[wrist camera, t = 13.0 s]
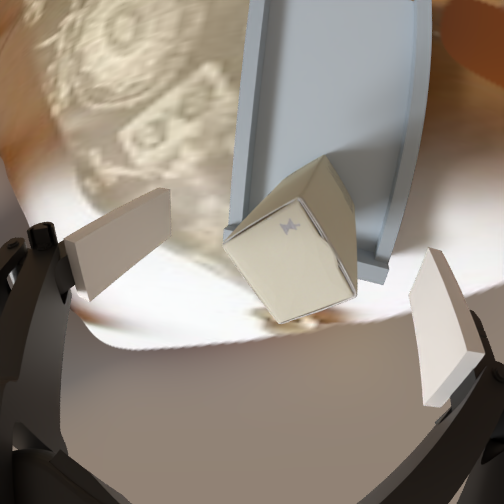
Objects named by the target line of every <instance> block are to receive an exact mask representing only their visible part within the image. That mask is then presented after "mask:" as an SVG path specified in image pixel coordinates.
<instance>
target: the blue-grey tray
mask: <svg viewBox="0 0 504 504" xmlns="http://www.w3.org/2000/svg"><path fill="white" fill-rule="evenodd" d="M431 45H432V2H431V0H414V1H411V0H250V5H249V13H248V21H247V29H246V38H245V46H244V55H243V65H242V74H241V83H240V93H239V103H238V114H237V125H236V136H235V147H234V159H233V171H232V184H231V197H230V210H229V225H228V226H227V227H226V228H224V234H223V242H224V241H225V240H226V239H227V237H228V236H229V235H230V234H231V233H232V232H233V231H234V230H235V229H236V228H237V227H238V225H239V224H240V223H241V222H242V221H243V220H244V219H245V218H246V217H247V216H248V215H249V214H250V213H251V212H252V211H253V210H254V209H255V208H256V207H257V206H258V205H259V204H260V202H261V201H262V200H263V199H264V198H265V197H267V195H268V194H269V193H270V192H271V191H272V190H273V189H274V188H275V187H276V186H277V185H278V184H279V183H280V182H281V181H282V180H283V179H284V178H286V177H287V176H289V175H290V174H292V173H293V172H295V171H296V170H298V169H300V168H301V167H303V166H304V165H306V164H308V163H310V162H311V161H313V160H315V159H317V158H318V157H320V156H322V155H326V156H327V158H328V159H329V161H330V163H331V164H332V166H333V167H334V169H335V170H336V172H337V174H338V175H339V177H340V179H341V180H342V182H343V184H344V186H345V187H346V189H347V191H348V193H349V195H350V197H351V199H352V201H353V203H354V206H355V222H356V240H357V279H361V280H365V281H369V282H373V283H377V284H381V285H384V282H385V279H386V277H387V274H388V271H389V266H388V262H389V259H390V256H391V253H392V250H393V247H394V244H395V241H396V238H397V235H398V232H399V228H400V225H401V221H402V218H403V215H404V211H405V207H406V204H407V200H408V196H409V192H410V188H411V184H412V180H413V176H414V171H415V167H416V162H417V157H418V152H419V147H420V142H421V136H422V130H423V124H424V118H425V111H426V104H427V96H428V87H429V76H430V64H431Z"/></svg>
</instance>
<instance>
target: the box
mask: <svg viewBox="0 0 504 504" xmlns="http://www.w3.org/2000/svg"><path fill="white" fill-rule="evenodd" d="M223 248H224V250H225V251H226V253H227V254H228V255H229V257H230V258H231V260H232V261H233V263H234V264H235V266H236V267H237V269H238V270H239V272H240V273H241V274H242V276H243V277H244V279H245V280H246V281H247V283H248V284H249V286H250V287H251V288H252V290H253V291H254V293H255V294H256V295H257V297H258V298H259V299H260V301H261V302H262V303H263V305H264V306H265V307H266V309H267V310H268V311H269V312H270V314H271V315H272V316H273V317H274V319H275V320H276V321H277V322H278V323H279V324H283V323H286V322H289V321H292V320H295V319H298V318H301V317H304V316H308V315H310V314H313V313H316V312H319V311H322V310H325V309H328V308H330V307H333V306H336V305H338V304H341V303H343V302H346V301H348V300H351V299H353V298H355V297H356V296H357V240H356V222H355V206H354V203H353V201H352V199H351V197H350V195H349V193H348V191H347V189H346V187H345V186H344V184H343V182H342V180H341V179H340V177H339V175H338V174H337V172H336V170H335V169H334V167H333V166H332V164H331V163H330V161H329V159H328V158H327V156H326V155H322V156H320V157H318V158H317V159H315V160H313V161H311V162H310V163H308V164H306V165H304V166H303V167H301V168H300V169H298V170H296V171H295V172H293V173H292V174H290V175H289V176H287V177H286V178H284V179H283V180H282V181H281V182H280V183H279V184H278V185H277V186H276V187H275V188H274V189H273V190H272V191H271V192H270V193H269V194H268V195H267V197H265V198H264V199H263V200H262V201H261V202H260V204H259V205H258V206H257V207H256V208H255V209H254V210H253V211H252V212H251V213H250V214H249V215H248V216H247V217H246V218H245V219H244V220H243V221H242V222H241V223H240V224H239V225H238V227H237V228H236V229H235V230H234V231H233V232H232V233H231V234H230V235H229V236H228V237H227V239H226V240H225V241H224V242H223Z"/></svg>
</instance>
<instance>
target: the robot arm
mask: <svg viewBox="0 0 504 504" xmlns="http://www.w3.org/2000/svg"><path fill="white" fill-rule="evenodd" d="M27 233H28V238H29V242H30V245H31V249H29V248H27V246H26V242H25V240H24V238H12V239H10V240H9V241H8V242H6V243H5V244H4V245H3V246H2V247H1V248H0V504H131V503H130V502H129V501H128V500H127V499H126V498H125V497H124V496H123V495H122V494H120V493H118V492H117V491H116V490H114V489H113V488H111V487H109V486H108V485H107V484H105V483H104V482H102V481H101V480H100V479H98V478H97V477H95V476H94V475H93V474H91V473H90V472H89V471H87V470H86V469H85V468H83V467H82V466H81V465H79V464H78V463H77V462H76V461H74V460H73V459H72V458H70V457H69V456H68V451H67V448H66V444H65V442H64V440H63V437H62V435H61V432H60V390H61V373H62V361H63V351H64V343H65V335H66V328H67V321H68V315H69V309H70V303H71V298H72V293H71V290H70V288H71V287H73V286H74V285H75V286H76V289H77V293H78V296H79V297H81V298H83V299H85V300H87V301H89V302H91V301H92V300H93V299H94V298H95V297H96V296H98V295H99V294H100V293H101V292H102V291H103V290H105V289H106V288H107V287H108V286H109V285H111V284H112V283H113V282H114V281H115V280H117V279H118V278H119V277H120V276H122V275H123V274H124V273H125V272H126V271H128V270H129V269H130V268H131V267H133V266H134V265H135V264H136V263H138V262H139V261H140V260H141V259H143V258H144V257H145V256H146V255H148V254H149V253H150V252H152V251H153V250H154V249H155V248H157V247H158V246H159V245H161V244H162V243H163V242H164V241H166V240H167V239H168V238H170V237H171V236H172V234H171V202H170V189H164V188H157V189H155V190H153V191H151V192H149V193H147V194H144V195H142V196H140V197H138V198H136V199H134V200H132V201H130V202H129V203H127V204H125V205H123V206H121V207H119V208H117V209H115V210H113V211H111V212H109V213H108V214H106V215H104V216H102V217H100V218H98V219H97V220H95V221H93V222H91V223H89V224H88V225H86V226H84V227H82V228H81V229H79V230H77V231H76V232H74V233H72V234H70V235H69V236H67V237H65V238H64V240H63V241H61V242H60V243H58V241H57V237H56V232H55V228H54V224H53V223H51V222H42V223H38V224H36V225H34V226H32V227H30V228H29V229H28V230H27ZM9 274H10V277H11V279H12V282H13V288H12V290H11V289H10V287H9V284H8V281H7V276H8V275H9ZM409 299H410V304H411V310H412V315H413V321H414V326H415V332H416V339H417V346H418V353H419V361H420V370H421V380H422V391H423V405H424V406H434V407H441V406H442V405H443V404H444V403H445V402H446V401H447V400H448V399H449V398H450V399H451V407H450V408H449V409H448V410H447V411H446V412H445V413H444V414H443V415H442V416H441V417H440V418H439V419H438V420H437V421H436V422H435V424H436V425H435V426H434V428H433V429H432V430H431V431H430V432H429V434H428V435H427V436H426V437H425V438H424V440H423V441H422V442H421V443H420V444H419V445H418V446H417V448H416V449H415V450H414V451H413V452H412V453H411V454H410V455H409V456H408V457H407V458H406V459H405V460H404V461H403V462H402V463H401V464H400V465H399V467H397V468H396V469H395V470H394V471H393V472H392V473H391V474H390V475H389V476H388V477H387V478H386V479H385V480H384V481H383V482H382V483H381V484H379V485H378V486H377V487H376V488H375V489H374V490H373V491H371V492H370V493H369V494H368V495H367V496H366V497H364V498H363V499H362V500H361V501H359V502H358V503H357V504H448V503H449V502H450V501H451V499H452V498H453V497H454V495H455V494H456V492H457V491H458V490H459V488H460V487H461V485H462V484H463V482H464V481H465V479H466V478H467V476H468V475H469V477H468V479H467V481H466V484H465V486H464V489H463V491H462V493H461V495H460V498H459V500H458V502H457V504H504V364H502V363H500V362H497V361H495V358H494V355H493V352H492V349H491V346H490V344H489V341H488V338H486V337H487V336H486V333H485V331H484V328H483V325H482V323H481V321H480V319H479V318H478V316H477V315H476V314H475V312H474V311H472V310H469V308H468V306H467V303H466V301H465V299H464V296H463V294H462V292H461V289H460V287H459V285H458V283H457V281H456V279H455V277H454V274H453V272H452V270H451V268H450V266H449V264H448V262H447V260H446V258H445V256H444V255H443V253H442V251H440V250H436V249H433V248H429V247H428V249H427V252H426V254H425V257H424V260H423V262H422V265H421V267H420V270H419V272H418V275H417V277H416V279H415V282H414V284H413V286H412V289H411V291H410V293H409ZM12 445H13V446H14V447H15V448H17V449H18V450H16V451H12ZM469 473H470V474H469Z"/></svg>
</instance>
